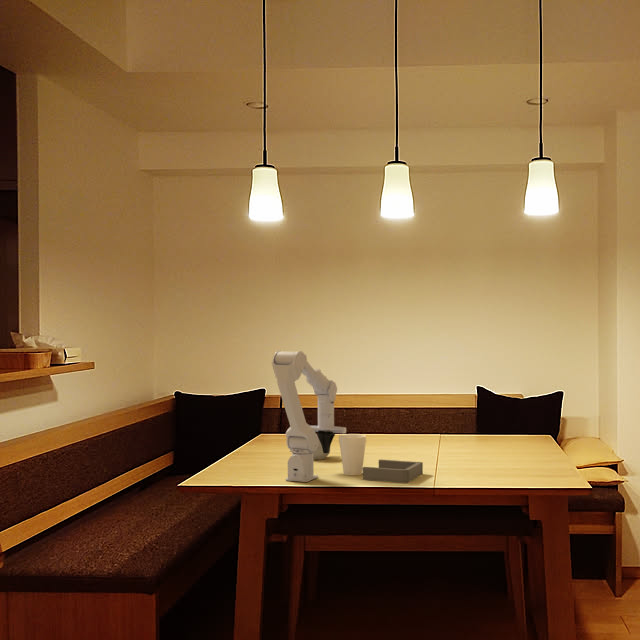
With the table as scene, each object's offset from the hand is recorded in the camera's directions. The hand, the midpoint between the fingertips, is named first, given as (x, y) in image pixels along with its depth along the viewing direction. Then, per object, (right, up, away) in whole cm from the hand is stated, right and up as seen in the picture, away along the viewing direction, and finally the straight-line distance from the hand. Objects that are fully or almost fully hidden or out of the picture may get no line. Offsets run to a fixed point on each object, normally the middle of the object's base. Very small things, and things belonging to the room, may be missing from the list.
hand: (326, 452), depth 289 cm
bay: (+22, -6, -10) cm, 25 cm away
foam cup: (+9, -7, -4) cm, 12 cm away
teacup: (-3, -7, +28) cm, 29 cm away
